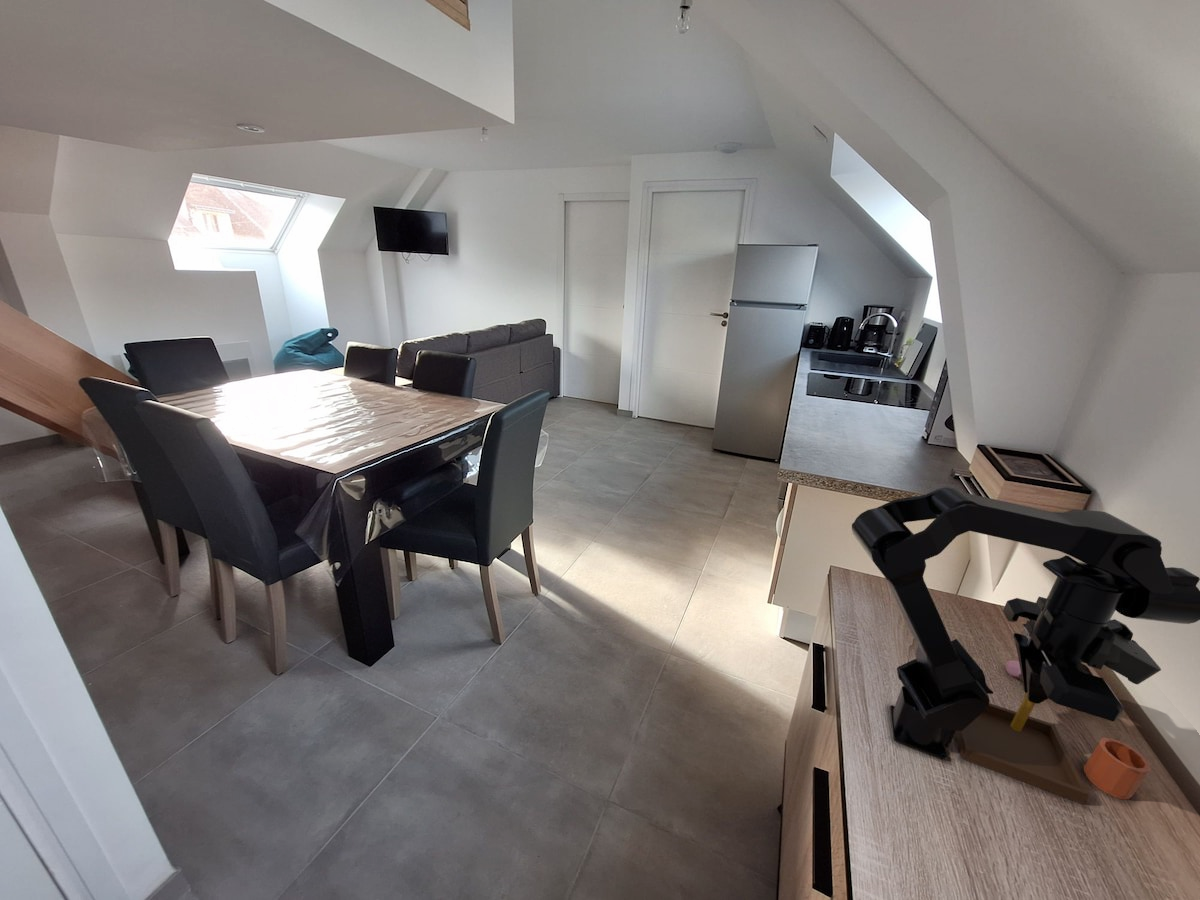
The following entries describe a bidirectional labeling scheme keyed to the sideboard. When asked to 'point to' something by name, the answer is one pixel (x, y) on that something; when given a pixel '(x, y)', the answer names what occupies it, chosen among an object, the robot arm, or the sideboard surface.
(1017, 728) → the pencil
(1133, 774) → the pen pot
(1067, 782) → the tray
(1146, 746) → the sideboard surface
